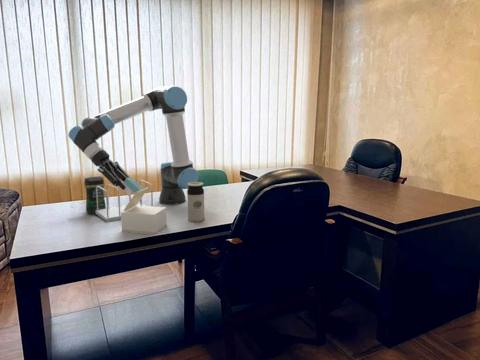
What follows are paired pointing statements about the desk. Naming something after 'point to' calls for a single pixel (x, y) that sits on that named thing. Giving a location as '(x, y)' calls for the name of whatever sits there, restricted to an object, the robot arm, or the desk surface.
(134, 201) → the flap
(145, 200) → the desk surface
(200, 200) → the dark labelled jar
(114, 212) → the file sorter
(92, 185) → the coffee jar
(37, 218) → the desk surface
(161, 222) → the carton
